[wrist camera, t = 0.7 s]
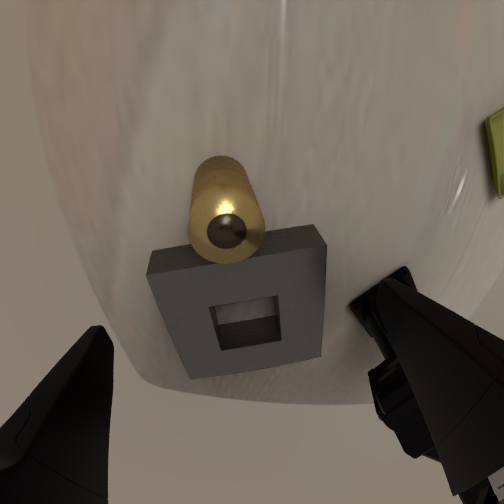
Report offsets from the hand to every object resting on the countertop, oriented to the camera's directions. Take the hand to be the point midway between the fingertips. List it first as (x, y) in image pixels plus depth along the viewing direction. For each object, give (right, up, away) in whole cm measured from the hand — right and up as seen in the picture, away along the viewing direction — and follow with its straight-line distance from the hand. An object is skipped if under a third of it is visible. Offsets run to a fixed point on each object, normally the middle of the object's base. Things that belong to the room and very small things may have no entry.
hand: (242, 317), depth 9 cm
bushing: (-2, +7, +11) cm, 13 cm away
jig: (0, -2, +16) cm, 16 cm away
